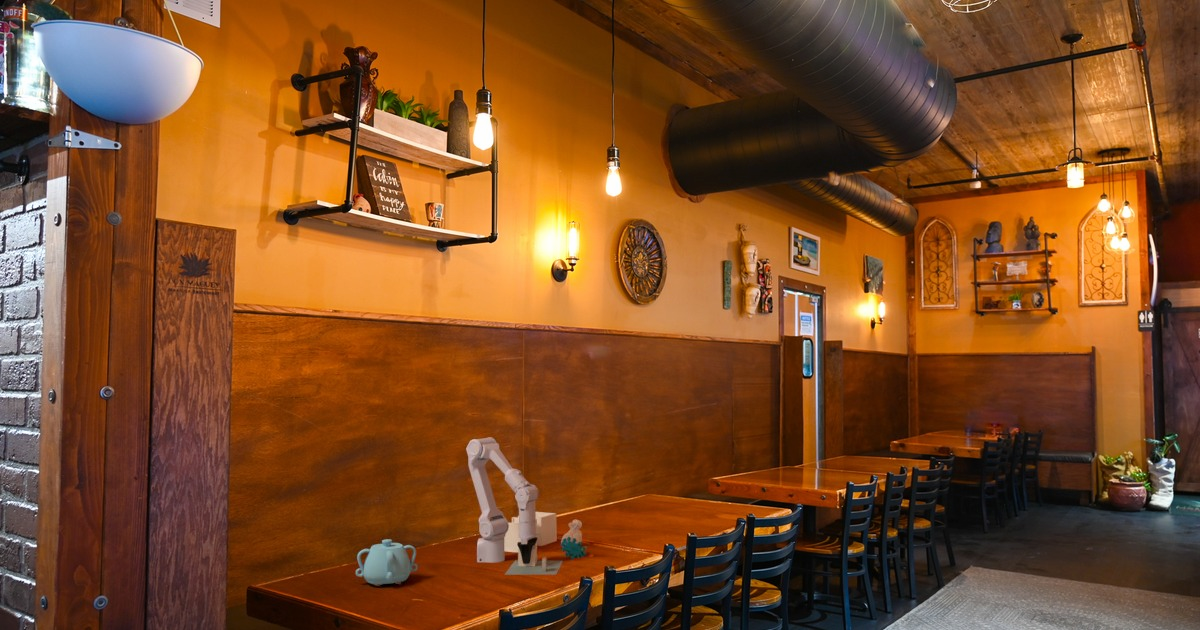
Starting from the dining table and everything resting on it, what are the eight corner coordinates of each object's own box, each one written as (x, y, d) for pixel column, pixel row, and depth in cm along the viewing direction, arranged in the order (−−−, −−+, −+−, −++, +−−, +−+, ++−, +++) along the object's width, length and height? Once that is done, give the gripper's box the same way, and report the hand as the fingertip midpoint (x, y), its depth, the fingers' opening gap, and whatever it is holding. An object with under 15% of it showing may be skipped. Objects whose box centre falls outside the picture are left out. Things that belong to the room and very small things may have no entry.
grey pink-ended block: (542, 571, 275) (541, 559, 275) (543, 569, 278) (543, 557, 278) (545, 571, 275) (545, 559, 275) (546, 569, 278) (546, 557, 278)
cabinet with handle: (534, 566, 283) (534, 548, 283) (518, 566, 283) (518, 548, 284) (537, 562, 288) (536, 544, 289) (521, 562, 289) (520, 545, 289)
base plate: (504, 578, 272) (504, 574, 272) (514, 564, 292) (514, 560, 292) (556, 578, 271) (556, 574, 271) (563, 564, 291) (563, 560, 291)
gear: (568, 559, 291) (558, 535, 298) (560, 569, 294) (550, 546, 300) (593, 558, 298) (583, 535, 304) (585, 569, 300) (575, 545, 307)
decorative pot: (349, 585, 267) (349, 542, 268) (386, 574, 281) (386, 533, 282) (386, 591, 259) (386, 547, 259) (422, 579, 272) (422, 537, 273)
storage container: (521, 553, 310) (520, 523, 311) (497, 551, 316) (496, 521, 316) (556, 541, 332) (556, 513, 333) (533, 539, 337) (533, 511, 338)
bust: (565, 555, 315) (580, 532, 313) (551, 541, 318) (566, 519, 316) (581, 549, 326) (596, 527, 323) (568, 535, 329) (582, 514, 326)
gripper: (535, 525, 279) (536, 566, 278) (541, 517, 294) (542, 556, 293) (514, 525, 280) (515, 566, 279) (521, 517, 294) (522, 556, 293)
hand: (527, 561), depth 286 cm, fingers closed on cabinet with handle, 6 cm apart
